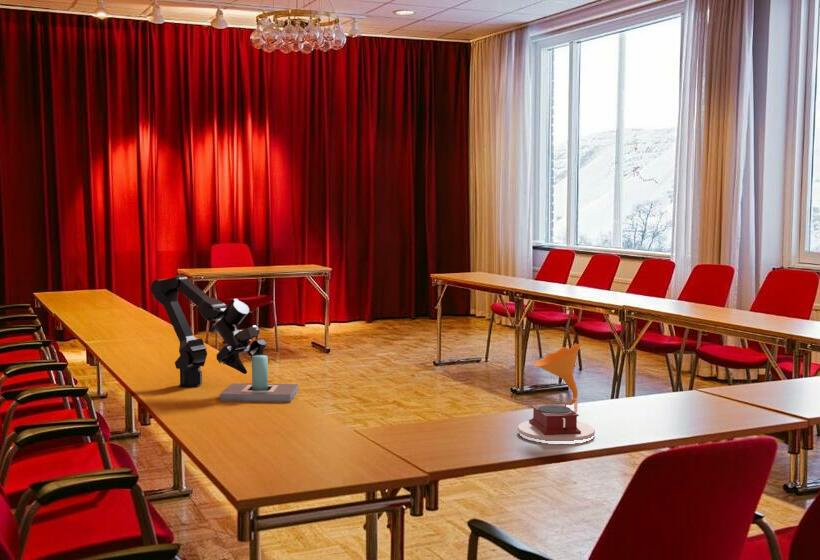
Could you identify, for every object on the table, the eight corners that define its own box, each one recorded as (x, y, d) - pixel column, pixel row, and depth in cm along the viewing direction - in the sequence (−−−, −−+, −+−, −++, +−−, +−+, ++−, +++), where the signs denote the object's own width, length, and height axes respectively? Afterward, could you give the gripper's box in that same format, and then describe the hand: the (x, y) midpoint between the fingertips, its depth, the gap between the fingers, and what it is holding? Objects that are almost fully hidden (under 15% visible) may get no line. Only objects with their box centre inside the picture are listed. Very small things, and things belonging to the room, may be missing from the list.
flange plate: (220, 401, 282) (220, 393, 282) (231, 390, 298) (231, 382, 298) (290, 402, 282) (290, 393, 281) (298, 391, 298) (298, 383, 297)
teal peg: (249, 397, 289) (248, 356, 288) (259, 394, 293) (259, 354, 292) (260, 398, 287) (260, 358, 285) (271, 396, 291) (270, 356, 290)
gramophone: (578, 424, 256) (580, 336, 254) (606, 443, 236) (608, 348, 234) (508, 427, 253) (510, 338, 250) (531, 446, 233) (532, 350, 230)
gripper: (222, 321, 284) (249, 359, 279) (262, 314, 299) (288, 351, 295) (204, 343, 288) (230, 381, 284) (244, 336, 304) (269, 372, 299)
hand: (255, 371), depth 290 cm, fingers open, 9 cm apart
